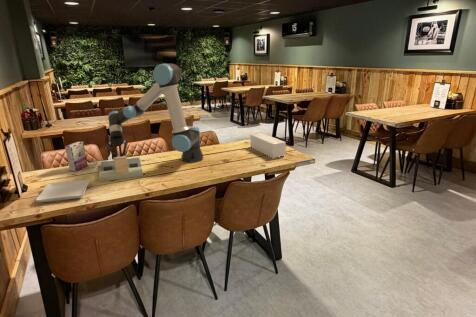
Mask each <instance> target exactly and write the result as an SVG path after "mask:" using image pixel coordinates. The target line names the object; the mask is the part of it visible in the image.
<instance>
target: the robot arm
mask: <svg viewBox="0 0 476 317" xmlns="http://www.w3.org/2000/svg"><path fill="white" fill-rule="evenodd" d="M152 77H153V79H154V82H155V83H154V84H153V85H152V86H151V87H150V88H149V89H148V90H147V91H146V93H145V94H143V95H142V96H141V97H140V98H139V99H138V100H137V101H136V103H134V105H128V106H125V107H124V108H122V109H121V110H119V111H117V110H112V111H110V112H108V114H107V115H108V119H107V120H108V126H109V134H110V135H109V137H110V140H109V142H108V141H107V142H106V146H107V147H108V149H109V151H110V154H111V156H112V157H113V158H115V157H123V156H126V152H127V151H126V150H127V146H128V145H129V141H128V140H125V139H124V134H123V127H122V126H123V124H124V123H125V122H127V121H129V120H131V119H134V118H138V117H141V116H143V115H144V114H145V112H146V110H147V109H148V108H149V107H150V106H151V105H153V104H154V102H155V101H156V100H157V99H159V97H161V96H162V95H164V99H165V102H166V106H167V111H168V114H169V117H170V121H171V125H172V128H173V129H172V130H171V134H172V139H171V145H172V148H173V149H174V150H176V151H177V152H180V153H181V159H180V160H181V161H182V162H185V163H197V162H201V161H203V160H204V154H203V151H202V149H201V135H200V134H201V133H200V132H201V131H200V128H199V127H198V126H188V125H187V122H186V117H185V112H184V110H183V106H182V103H181V98H180V94H179V91H178V87H179V85H180V84H179V80H180V79H181V77H182V71H181V68H180V67H179V66H178V65H177V64H175V63H161V64H157V65H156V66H155V67H154V70H153V72H152ZM122 145H123V150H122ZM112 146H113V147H114V151H113V148H112ZM118 150H119V155H118Z"/></svg>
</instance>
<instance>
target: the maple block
mask: <svg viewBox="0 0 476 317" xmlns="http://www.w3.org/2000/svg"><path fill="white" fill-rule="evenodd" d="M127 159H128V158H127V156H126V155H125V156H122V157H113V160H114V165H115V171H116V174H120V173H126V172H129V169H128V162H127Z"/></svg>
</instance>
